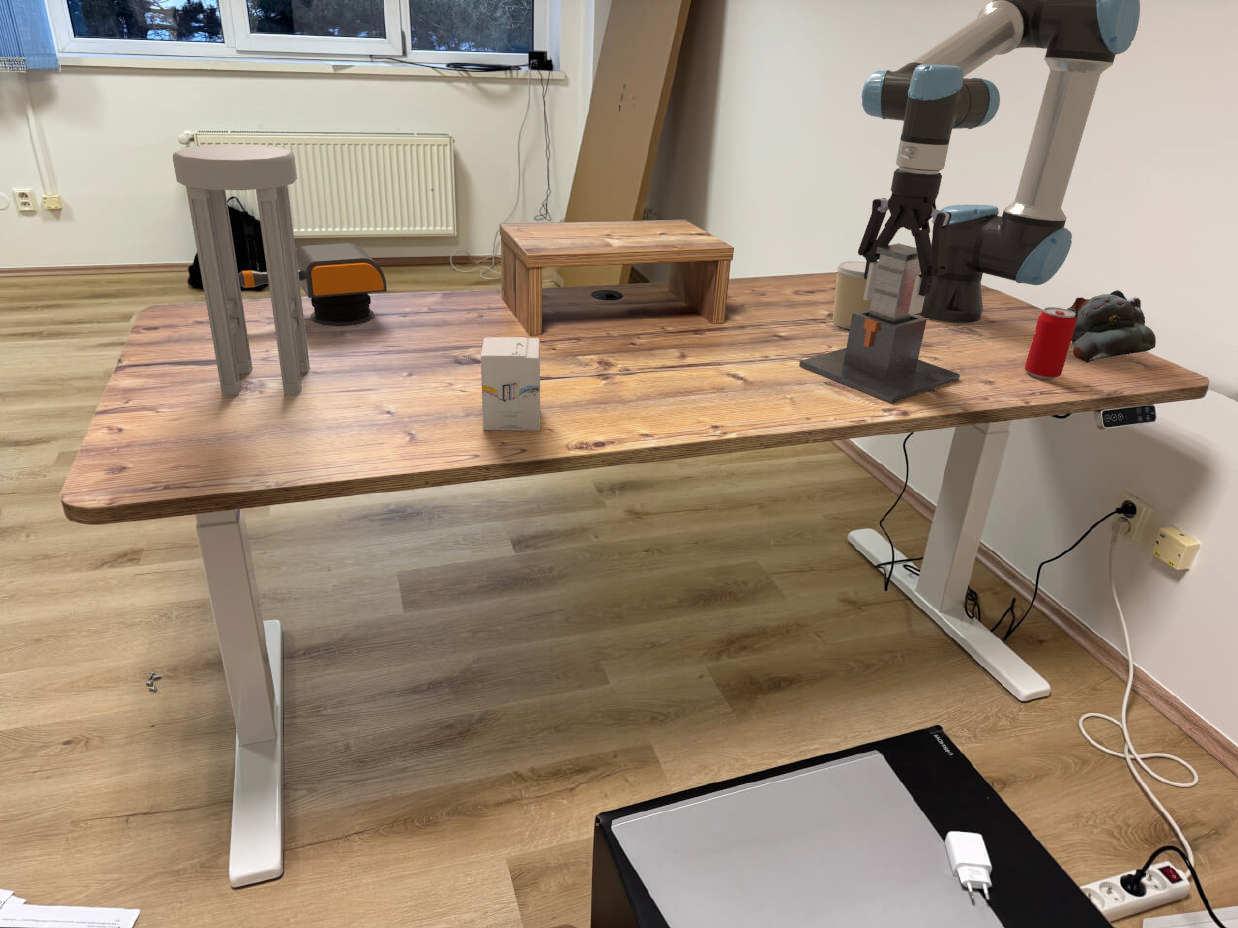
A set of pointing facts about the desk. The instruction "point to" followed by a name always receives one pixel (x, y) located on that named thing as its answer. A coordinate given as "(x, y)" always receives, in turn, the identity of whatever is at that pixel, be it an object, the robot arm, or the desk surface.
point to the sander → (333, 282)
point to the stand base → (882, 360)
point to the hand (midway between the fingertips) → (891, 305)
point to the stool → (206, 185)
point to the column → (894, 283)
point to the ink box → (510, 383)
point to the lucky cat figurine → (1109, 327)
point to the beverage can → (1050, 343)
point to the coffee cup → (849, 292)
